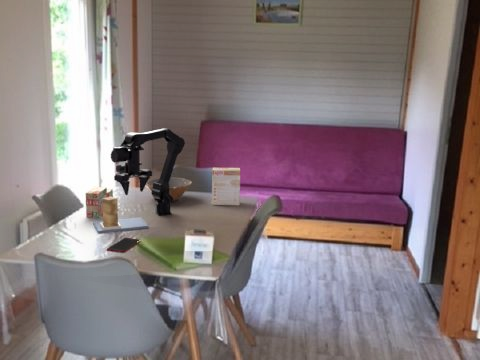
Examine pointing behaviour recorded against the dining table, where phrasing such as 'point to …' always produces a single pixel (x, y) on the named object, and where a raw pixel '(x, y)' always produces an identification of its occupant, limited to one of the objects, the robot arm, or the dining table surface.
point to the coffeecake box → (226, 186)
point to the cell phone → (123, 245)
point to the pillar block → (110, 211)
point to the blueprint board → (121, 225)
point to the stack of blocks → (96, 201)
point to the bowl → (173, 186)
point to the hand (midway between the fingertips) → (134, 193)
